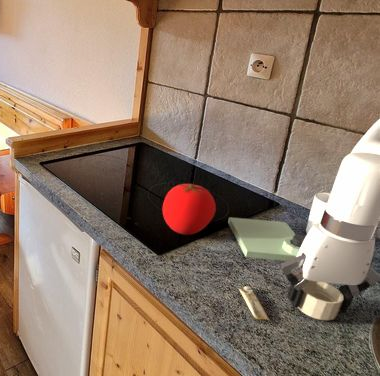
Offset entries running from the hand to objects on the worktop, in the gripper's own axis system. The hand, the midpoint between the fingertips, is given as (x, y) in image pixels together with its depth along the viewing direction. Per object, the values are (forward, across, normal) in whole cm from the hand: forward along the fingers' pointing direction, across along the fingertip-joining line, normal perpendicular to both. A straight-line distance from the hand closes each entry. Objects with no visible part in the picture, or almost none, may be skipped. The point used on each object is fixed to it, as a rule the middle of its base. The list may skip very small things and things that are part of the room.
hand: (316, 304), depth 76 cm
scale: (+1, +1, -24) cm, 24 cm away
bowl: (+1, 0, 0) cm, 1 cm away
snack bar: (+1, +12, +1) cm, 12 cm away
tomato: (+1, +20, -26) cm, 33 cm away
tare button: (-2, -3, -18) cm, 19 cm away
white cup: (+1, -14, -30) cm, 33 cm away
